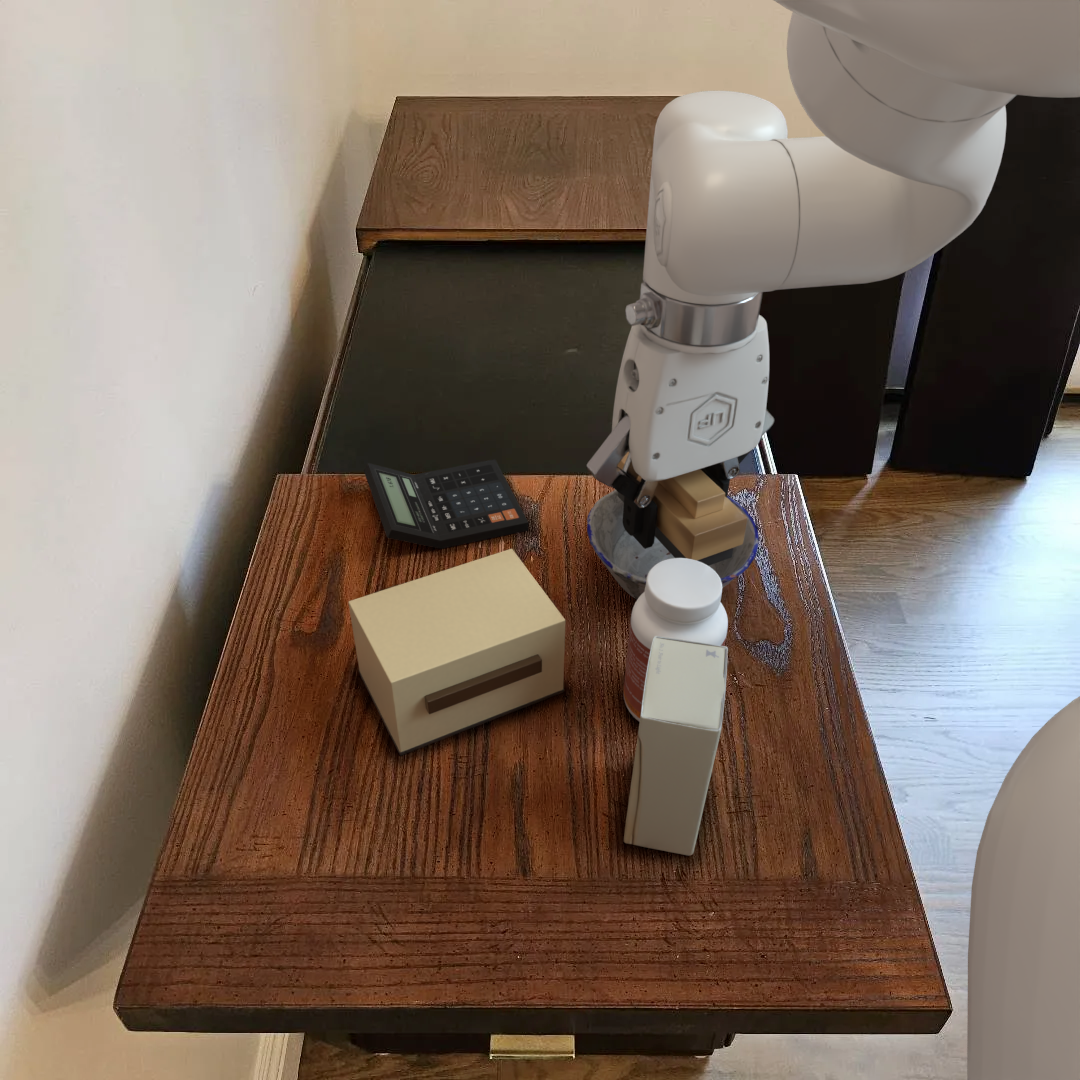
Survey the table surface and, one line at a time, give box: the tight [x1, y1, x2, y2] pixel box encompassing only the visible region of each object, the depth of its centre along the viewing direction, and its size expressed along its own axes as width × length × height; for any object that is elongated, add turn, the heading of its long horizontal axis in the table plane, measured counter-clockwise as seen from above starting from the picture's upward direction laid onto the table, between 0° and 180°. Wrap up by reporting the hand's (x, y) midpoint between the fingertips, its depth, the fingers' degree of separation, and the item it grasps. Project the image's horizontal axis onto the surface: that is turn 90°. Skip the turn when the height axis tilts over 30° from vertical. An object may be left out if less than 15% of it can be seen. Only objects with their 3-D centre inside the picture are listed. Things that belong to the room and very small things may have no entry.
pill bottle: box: [623, 558, 729, 723], centre depth 65 cm, size 6×6×11 cm
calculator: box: [363, 458, 529, 550], centre depth 83 cm, size 9×12×3 cm
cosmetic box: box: [623, 636, 729, 856], centre depth 58 cm, size 6×4×12 cm
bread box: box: [348, 548, 566, 757], centre depth 67 cm, size 9×12×7 cm
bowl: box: [586, 489, 760, 601], centre depth 77 cm, size 13×13×5 cm
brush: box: [617, 452, 748, 566], centre depth 73 cm, size 11×4×6 cm, turn 27°
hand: (673, 523), depth 75 cm, fingers open, 5 cm apart
